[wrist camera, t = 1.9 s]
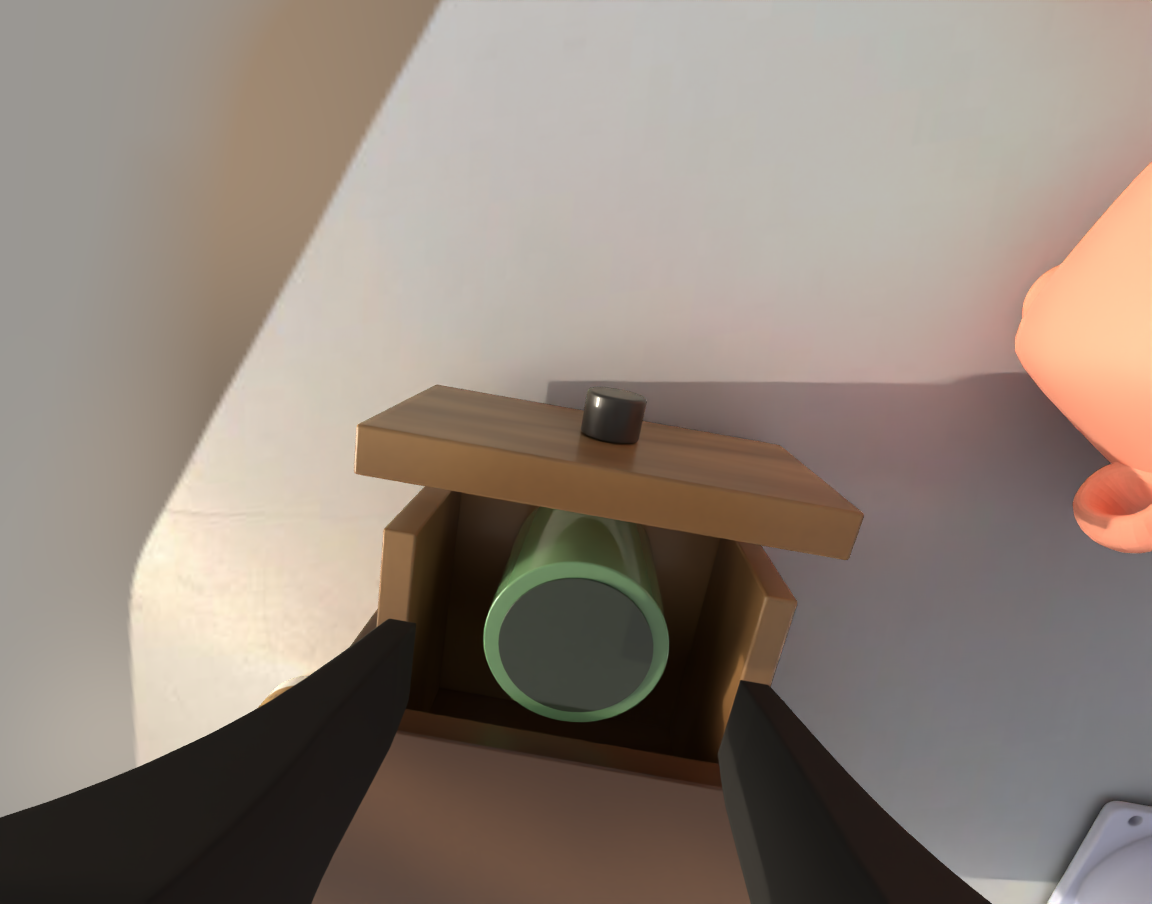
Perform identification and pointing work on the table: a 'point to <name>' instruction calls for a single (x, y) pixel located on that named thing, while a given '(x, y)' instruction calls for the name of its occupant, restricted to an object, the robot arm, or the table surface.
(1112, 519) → the teapot
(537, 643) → the green pot
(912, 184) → the table surface
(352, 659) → the robot arm
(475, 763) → the cabinet
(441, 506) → the drawer
